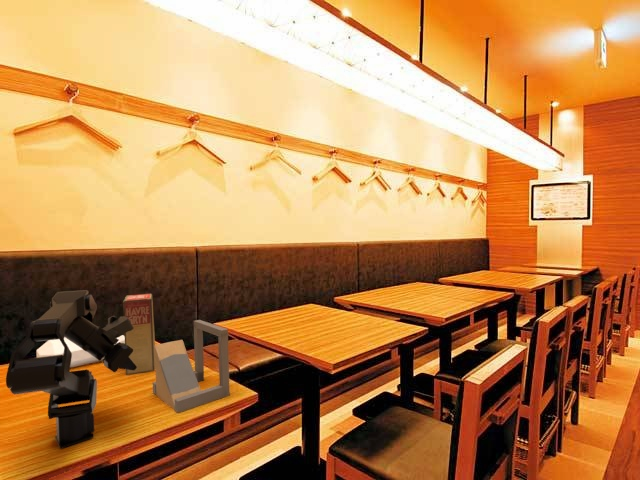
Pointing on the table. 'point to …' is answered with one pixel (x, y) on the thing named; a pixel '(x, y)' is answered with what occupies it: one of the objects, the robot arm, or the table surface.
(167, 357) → the sandwich container
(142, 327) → the food packaging
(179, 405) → the grey frame stand
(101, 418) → the table surface
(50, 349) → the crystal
